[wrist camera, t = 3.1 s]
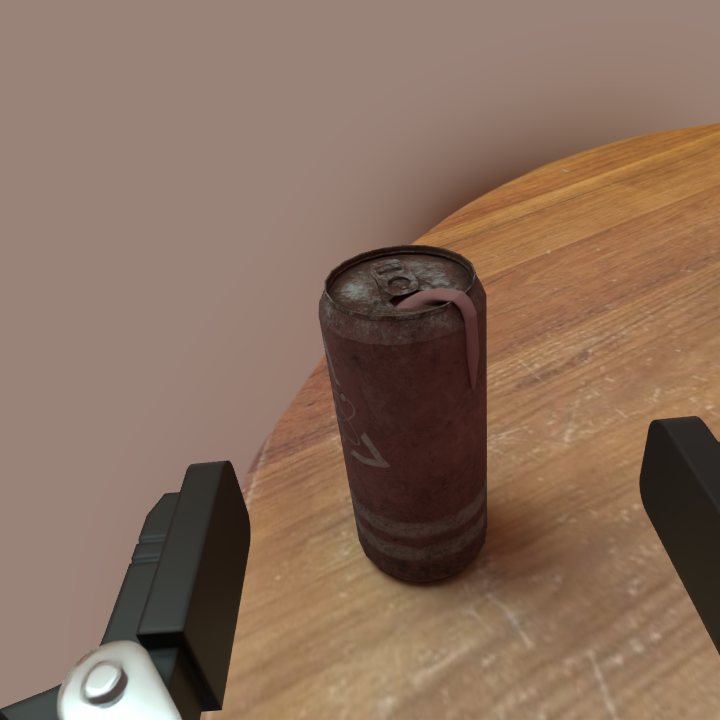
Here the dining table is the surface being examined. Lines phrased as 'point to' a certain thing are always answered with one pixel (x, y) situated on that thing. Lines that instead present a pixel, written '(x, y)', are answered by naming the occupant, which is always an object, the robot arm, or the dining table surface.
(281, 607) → the dining table surface
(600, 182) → the dining table surface
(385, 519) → the can
